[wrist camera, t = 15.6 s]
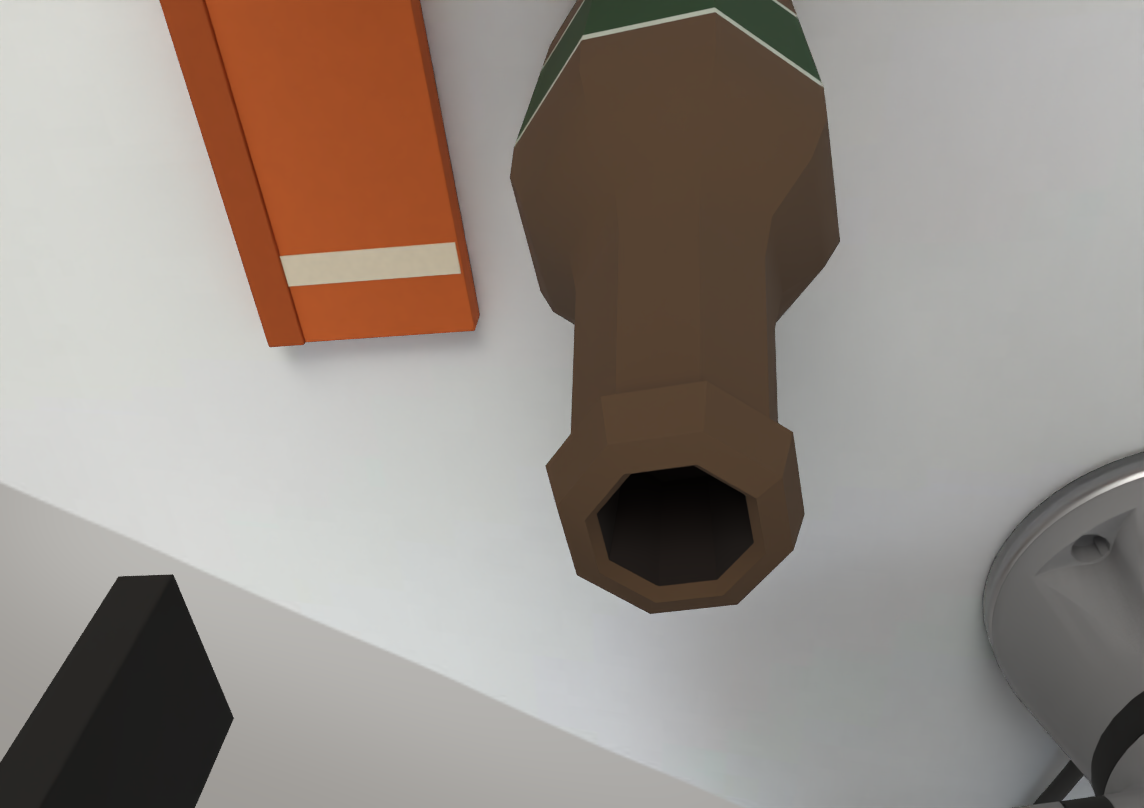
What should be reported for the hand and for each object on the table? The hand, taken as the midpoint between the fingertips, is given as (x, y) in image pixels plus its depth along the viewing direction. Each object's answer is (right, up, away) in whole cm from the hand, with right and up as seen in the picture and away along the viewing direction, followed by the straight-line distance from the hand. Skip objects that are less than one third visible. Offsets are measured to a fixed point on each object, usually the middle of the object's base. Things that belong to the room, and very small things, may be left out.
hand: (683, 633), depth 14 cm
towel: (-10, +14, +22) cm, 28 cm away
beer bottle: (+2, +14, +21) cm, 26 cm away
